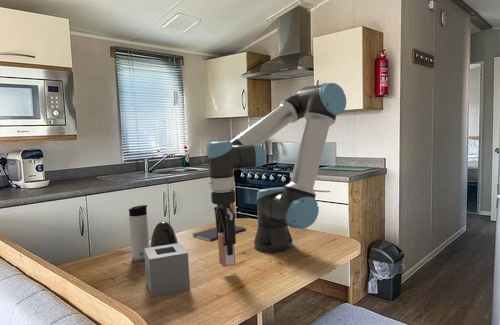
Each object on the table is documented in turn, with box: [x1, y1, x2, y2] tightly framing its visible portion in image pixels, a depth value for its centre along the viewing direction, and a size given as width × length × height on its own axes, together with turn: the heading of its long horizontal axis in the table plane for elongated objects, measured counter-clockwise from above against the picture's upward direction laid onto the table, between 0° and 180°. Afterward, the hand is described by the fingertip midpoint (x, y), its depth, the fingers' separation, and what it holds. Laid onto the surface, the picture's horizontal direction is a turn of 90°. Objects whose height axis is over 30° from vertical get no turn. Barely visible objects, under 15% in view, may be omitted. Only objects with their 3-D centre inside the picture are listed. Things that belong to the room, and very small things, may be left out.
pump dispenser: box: [149, 221, 179, 248], centre depth 132 cm, size 10×10×15 cm
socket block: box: [144, 242, 191, 298], centre depth 113 cm, size 11×11×11 cm
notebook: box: [192, 225, 246, 242], centre depth 169 cm, size 13×2×21 cm
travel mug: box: [128, 204, 150, 263], centre depth 138 cm, size 6×7×20 cm
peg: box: [217, 232, 236, 268], centre depth 120 cm, size 4×4×10 cm
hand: (227, 261), depth 121 cm, fingers closed on peg, 4 cm apart
